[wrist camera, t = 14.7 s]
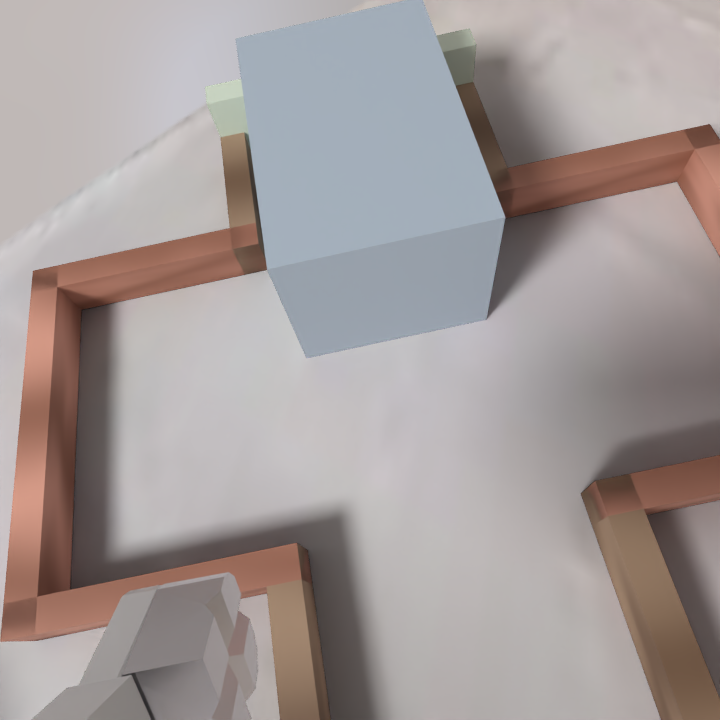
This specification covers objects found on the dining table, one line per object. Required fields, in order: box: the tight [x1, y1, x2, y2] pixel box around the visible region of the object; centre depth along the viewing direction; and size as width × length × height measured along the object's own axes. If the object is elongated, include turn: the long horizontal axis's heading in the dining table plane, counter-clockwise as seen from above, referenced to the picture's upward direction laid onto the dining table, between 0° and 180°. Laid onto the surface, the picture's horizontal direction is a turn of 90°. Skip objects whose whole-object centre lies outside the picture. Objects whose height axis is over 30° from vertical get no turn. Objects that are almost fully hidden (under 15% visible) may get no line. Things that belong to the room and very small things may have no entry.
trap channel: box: [0, 82, 720, 720], centre depth 22 cm, size 32×31×2 cm
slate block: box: [236, 0, 505, 358], centre depth 25 cm, size 12×8×7 cm, turn 11°
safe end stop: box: [205, 29, 476, 150], centre depth 29 cm, size 1×13×4 cm, turn 100°
